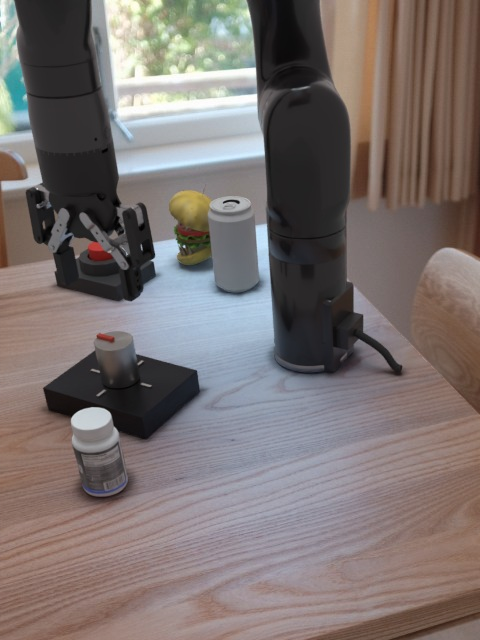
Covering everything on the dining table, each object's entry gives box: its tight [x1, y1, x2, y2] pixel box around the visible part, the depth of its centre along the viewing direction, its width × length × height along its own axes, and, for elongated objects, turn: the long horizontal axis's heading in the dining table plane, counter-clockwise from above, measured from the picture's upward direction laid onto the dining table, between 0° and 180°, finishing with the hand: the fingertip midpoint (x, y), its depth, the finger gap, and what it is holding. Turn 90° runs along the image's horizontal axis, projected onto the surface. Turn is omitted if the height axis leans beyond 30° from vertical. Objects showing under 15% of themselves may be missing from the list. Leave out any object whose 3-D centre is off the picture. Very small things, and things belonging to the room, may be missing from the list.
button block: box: [54, 246, 157, 302], centre depth 131 cm, size 11×9×4 cm
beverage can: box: [208, 195, 260, 294], centre depth 127 cm, size 6×6×12 cm
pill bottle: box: [70, 407, 129, 498], centre depth 93 cm, size 5×5×8 cm
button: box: [87, 241, 114, 261], centre depth 129 cm, size 4×4×2 cm
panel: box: [42, 350, 201, 440], centre depth 107 cm, size 14×11×3 cm
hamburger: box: [168, 183, 213, 266], centre depth 133 cm, size 8×7×12 cm
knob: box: [93, 330, 140, 388], centre depth 104 cm, size 4×4×5 cm
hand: (101, 290), depth 99 cm, fingers open, 8 cm apart
